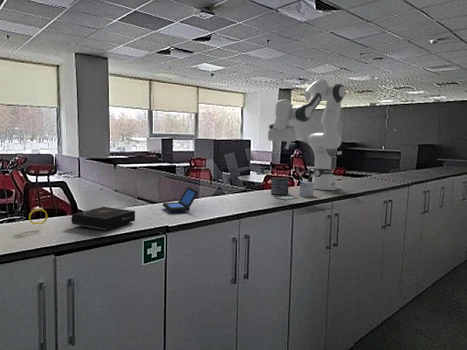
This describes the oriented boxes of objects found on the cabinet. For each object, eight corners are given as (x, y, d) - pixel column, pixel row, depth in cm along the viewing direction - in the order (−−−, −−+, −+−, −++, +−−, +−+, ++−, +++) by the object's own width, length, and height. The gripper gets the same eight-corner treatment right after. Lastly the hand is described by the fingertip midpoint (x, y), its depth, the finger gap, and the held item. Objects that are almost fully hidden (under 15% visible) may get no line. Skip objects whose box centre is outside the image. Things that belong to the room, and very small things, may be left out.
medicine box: (307, 195, 223) (308, 181, 222) (313, 196, 220) (314, 182, 219) (299, 196, 218) (299, 182, 217) (305, 197, 215) (305, 183, 214)
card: (288, 196, 216) (288, 195, 216) (299, 198, 210) (299, 197, 210) (274, 198, 209) (275, 197, 209) (285, 200, 202) (285, 199, 202)
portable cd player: (102, 215, 152) (102, 206, 152) (135, 220, 146) (135, 211, 145) (71, 223, 137) (71, 213, 137) (105, 229, 131) (105, 219, 130)
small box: (287, 194, 227) (288, 177, 226) (288, 195, 220) (289, 178, 219) (271, 193, 228) (271, 176, 227) (271, 194, 221) (271, 178, 220)
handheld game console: (161, 206, 177) (162, 187, 176) (187, 204, 182) (188, 186, 181) (170, 212, 162) (170, 192, 161) (198, 210, 168) (198, 191, 167)
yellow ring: (29, 225, 131) (29, 209, 130) (28, 224, 133) (28, 208, 133) (48, 223, 135) (47, 208, 134) (46, 222, 137) (46, 206, 136)
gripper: (298, 126, 213) (297, 149, 215) (273, 126, 229) (273, 147, 231) (291, 125, 209) (290, 149, 211) (266, 125, 225) (266, 147, 227)
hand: (281, 148), depth 221 cm, fingers open, 8 cm apart
